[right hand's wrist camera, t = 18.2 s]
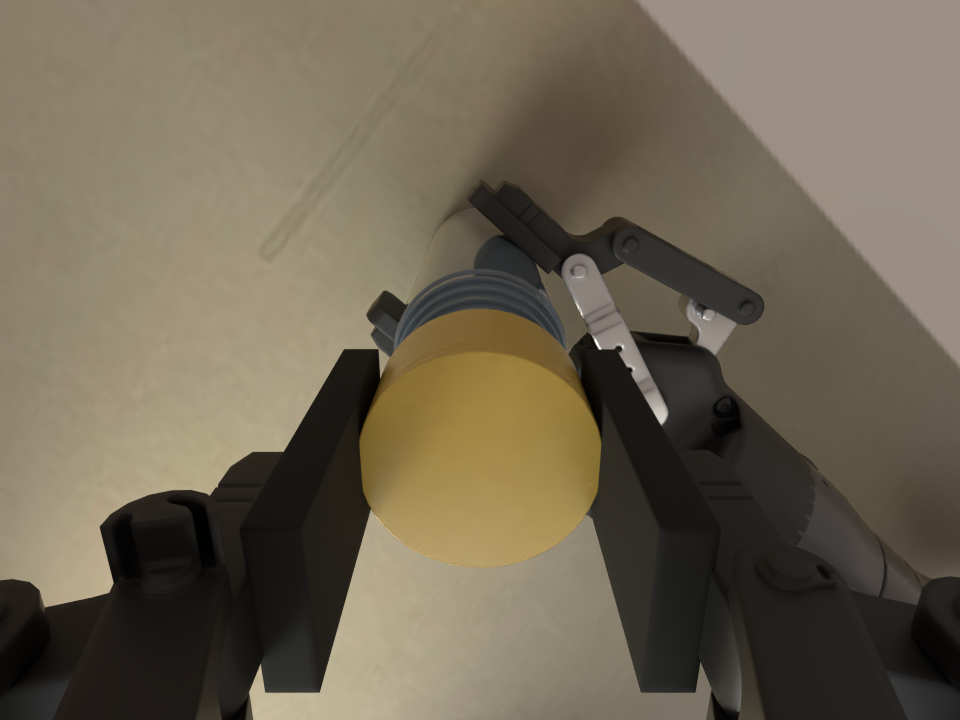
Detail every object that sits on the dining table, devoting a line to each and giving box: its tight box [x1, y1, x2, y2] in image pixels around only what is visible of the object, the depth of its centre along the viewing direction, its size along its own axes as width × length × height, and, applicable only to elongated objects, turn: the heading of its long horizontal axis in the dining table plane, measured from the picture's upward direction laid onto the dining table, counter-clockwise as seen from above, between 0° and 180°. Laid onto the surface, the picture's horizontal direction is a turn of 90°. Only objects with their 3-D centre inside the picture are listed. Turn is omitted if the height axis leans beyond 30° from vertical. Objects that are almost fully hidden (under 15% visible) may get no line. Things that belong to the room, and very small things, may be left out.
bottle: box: [394, 207, 566, 351], centre depth 21 cm, size 5×5×18 cm
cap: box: [359, 309, 602, 567], centre depth 13 cm, size 5×5×3 cm
